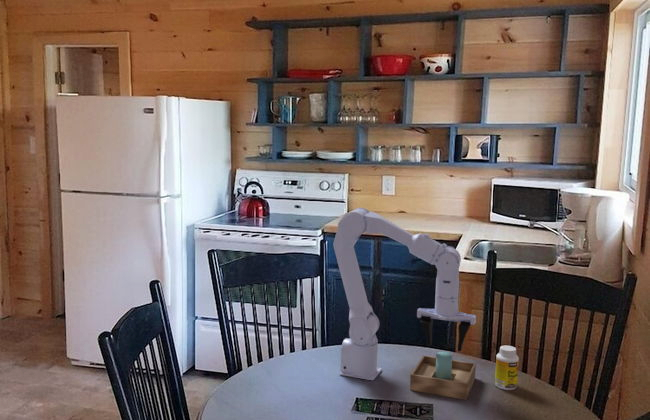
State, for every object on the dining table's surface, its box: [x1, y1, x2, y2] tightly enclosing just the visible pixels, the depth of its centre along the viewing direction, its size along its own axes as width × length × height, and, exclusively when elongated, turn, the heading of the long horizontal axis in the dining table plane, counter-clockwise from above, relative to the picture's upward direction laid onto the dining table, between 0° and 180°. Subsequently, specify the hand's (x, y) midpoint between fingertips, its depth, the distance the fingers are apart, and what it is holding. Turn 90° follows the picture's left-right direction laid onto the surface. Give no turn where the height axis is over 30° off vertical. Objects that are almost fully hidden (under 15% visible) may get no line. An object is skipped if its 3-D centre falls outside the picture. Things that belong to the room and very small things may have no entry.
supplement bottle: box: [494, 345, 520, 391], centre depth 151 cm, size 6×6×10 cm
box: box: [409, 355, 477, 401], centre depth 152 cm, size 14×14×4 cm
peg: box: [435, 351, 453, 381], centre depth 152 cm, size 4×4×8 cm
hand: (444, 347), depth 151 cm, fingers open, 7 cm apart
